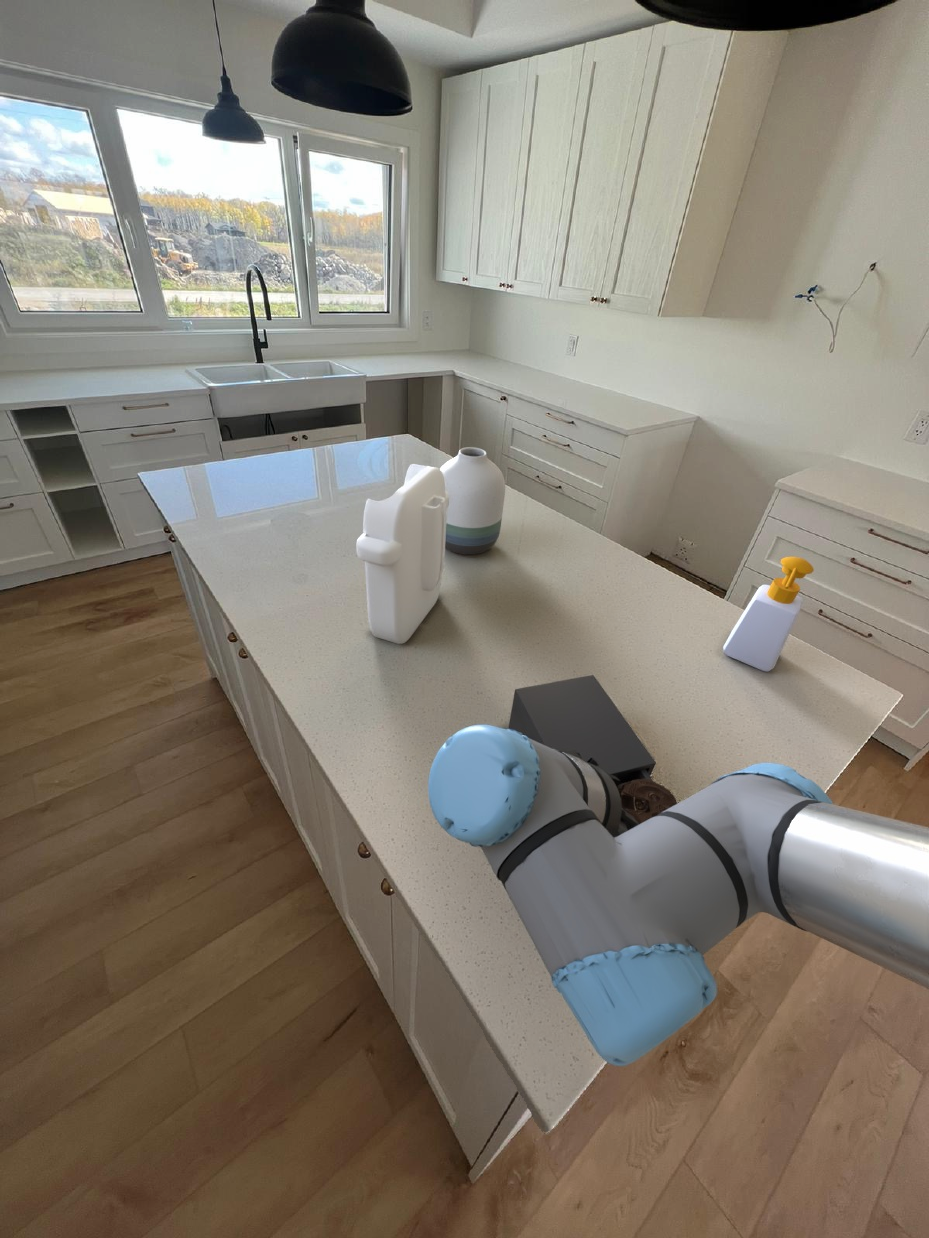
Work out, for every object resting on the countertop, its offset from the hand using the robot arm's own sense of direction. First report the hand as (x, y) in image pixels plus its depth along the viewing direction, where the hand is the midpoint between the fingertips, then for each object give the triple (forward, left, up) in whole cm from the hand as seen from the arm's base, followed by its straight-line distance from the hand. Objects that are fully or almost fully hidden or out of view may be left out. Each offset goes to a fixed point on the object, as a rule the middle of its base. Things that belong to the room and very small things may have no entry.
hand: (642, 819), depth 61 cm
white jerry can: (+58, +14, -12) cm, 61 cm away
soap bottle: (+30, -48, -12) cm, 58 cm away
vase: (+85, -6, -12) cm, 86 cm away
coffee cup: (0, 0, -10) cm, 9 cm away
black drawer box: (+16, -1, -11) cm, 20 cm away
